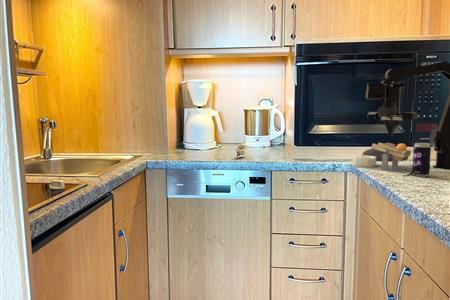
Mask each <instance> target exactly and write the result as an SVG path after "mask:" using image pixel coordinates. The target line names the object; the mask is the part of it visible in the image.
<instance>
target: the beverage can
mask: <svg viewBox="0 0 450 300" xmlns="http://www.w3.org/2000/svg"><path fill="white" fill-rule="evenodd" d="M412 150H413V151H412V152H413V153H412V167H411V168H412V171H411V173H413V174H412V175H414V176H415V177H423V178H425V177H427V176H428V175H430V169H431V155H432V154H431V153H432V146H431V144H430V142H429V143H428V142H414V145H413V149H412Z"/></svg>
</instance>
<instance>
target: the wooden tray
mask: <svg viewBox="0 0 450 300" xmlns="http://www.w3.org/2000/svg"><path fill="white" fill-rule="evenodd" d="M372 148H373V149H376V150H380V151H383V152H385V153H389V154H392V155H394V159H396V160H398V162H399V161H400V162H403V161H408V160H409V157H411V155H412V152H413V151H412V150H413V149H407V150H404V151H402V152H400V151H397V149H396V148H397V146H396V144H394V143H391V142H385V143H382V142H378V143H377V144H376V143H372V145H371V149H372Z"/></svg>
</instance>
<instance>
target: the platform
mask: <svg viewBox="0 0 450 300" xmlns="http://www.w3.org/2000/svg"><path fill="white" fill-rule="evenodd" d="M247 149H248V148H247V147H245V144H240V145H237V148H236V149H234V152H236V158H237V157H238V156H240V155H242V156H243V155H244V156H245V151H246V150H247Z"/></svg>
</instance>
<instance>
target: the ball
mask: <svg viewBox="0 0 450 300" xmlns="http://www.w3.org/2000/svg"><path fill="white" fill-rule="evenodd" d="M396 149H397V151H400V152H402V151H404V150H408V149H407V145H406V144H405V143H398V144H396Z"/></svg>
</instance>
